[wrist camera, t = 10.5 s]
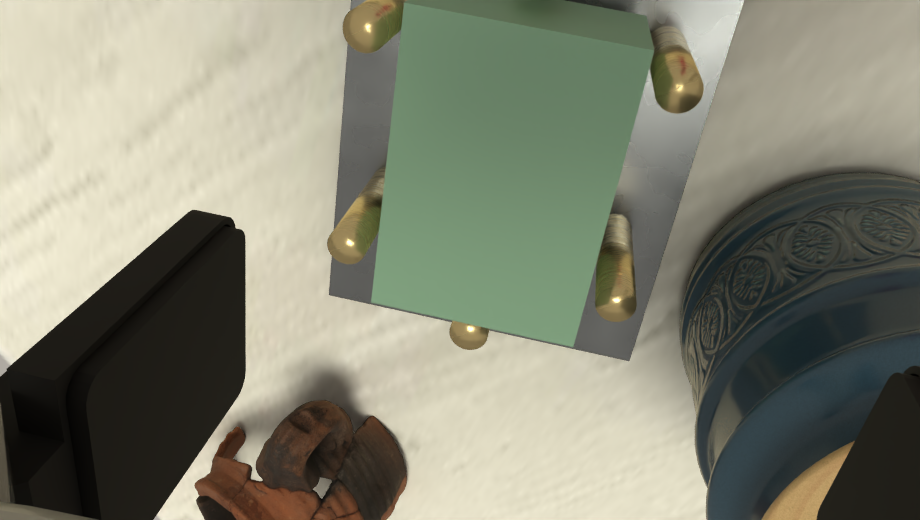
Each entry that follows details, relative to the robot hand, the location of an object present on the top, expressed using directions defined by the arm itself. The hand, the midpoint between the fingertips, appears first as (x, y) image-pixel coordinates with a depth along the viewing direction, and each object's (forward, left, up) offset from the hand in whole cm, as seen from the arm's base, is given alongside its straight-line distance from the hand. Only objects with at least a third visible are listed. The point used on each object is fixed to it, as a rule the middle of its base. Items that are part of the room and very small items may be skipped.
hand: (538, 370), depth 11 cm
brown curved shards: (+9, +23, -21) cm, 33 cm away
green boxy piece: (+2, +3, -18) cm, 18 cm away
